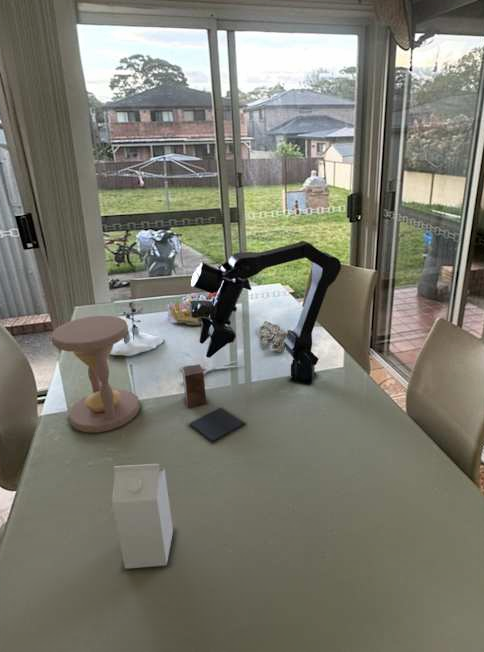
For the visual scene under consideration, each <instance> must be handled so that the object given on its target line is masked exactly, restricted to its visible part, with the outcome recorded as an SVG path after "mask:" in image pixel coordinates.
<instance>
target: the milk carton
mask: <svg viewBox="0 0 484 652" xmlns="http://www.w3.org/2000/svg"><path fill="white" fill-rule="evenodd" d="M113 469H114V478H113V485H112V486H113V487H112V497H111V505H112V508H113V514H114V519H115V525H116V530H117V534H118V539H119V545H120V550H121V555H122V560H123V565H124V569H140V568H152V567H165V566H167V565H168V560H169V554H170V549H171V545H172V538H173V535H174V534H173V533H174V529H173V528H174V527H173V520H172V513H171V508H170V507H171V506H170V499H169V491H168V485H167V483H168V482H167V477H166V470H165V468H160V464H159V463H146V464H130V465H115V466H114V467H113Z"/></svg>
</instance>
